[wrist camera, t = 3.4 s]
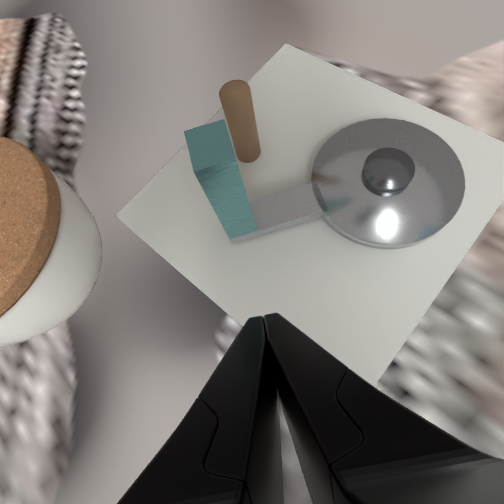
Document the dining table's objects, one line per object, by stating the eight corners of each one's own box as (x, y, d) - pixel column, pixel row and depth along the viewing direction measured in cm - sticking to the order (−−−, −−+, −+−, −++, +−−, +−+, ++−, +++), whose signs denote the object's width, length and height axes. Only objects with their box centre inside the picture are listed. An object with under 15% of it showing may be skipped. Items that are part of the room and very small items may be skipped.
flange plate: (418, 112, 24) (483, -24, 16) (486, 224, 20) (618, 125, 12) (214, 174, 25) (171, 76, 16) (245, 294, 21) (210, 247, 13)
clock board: (347, 417, 19) (375, 445, 12) (122, 222, 26) (62, 172, 19) (522, 166, 23) (614, 83, 16) (286, 55, 30) (283, -34, 23)
